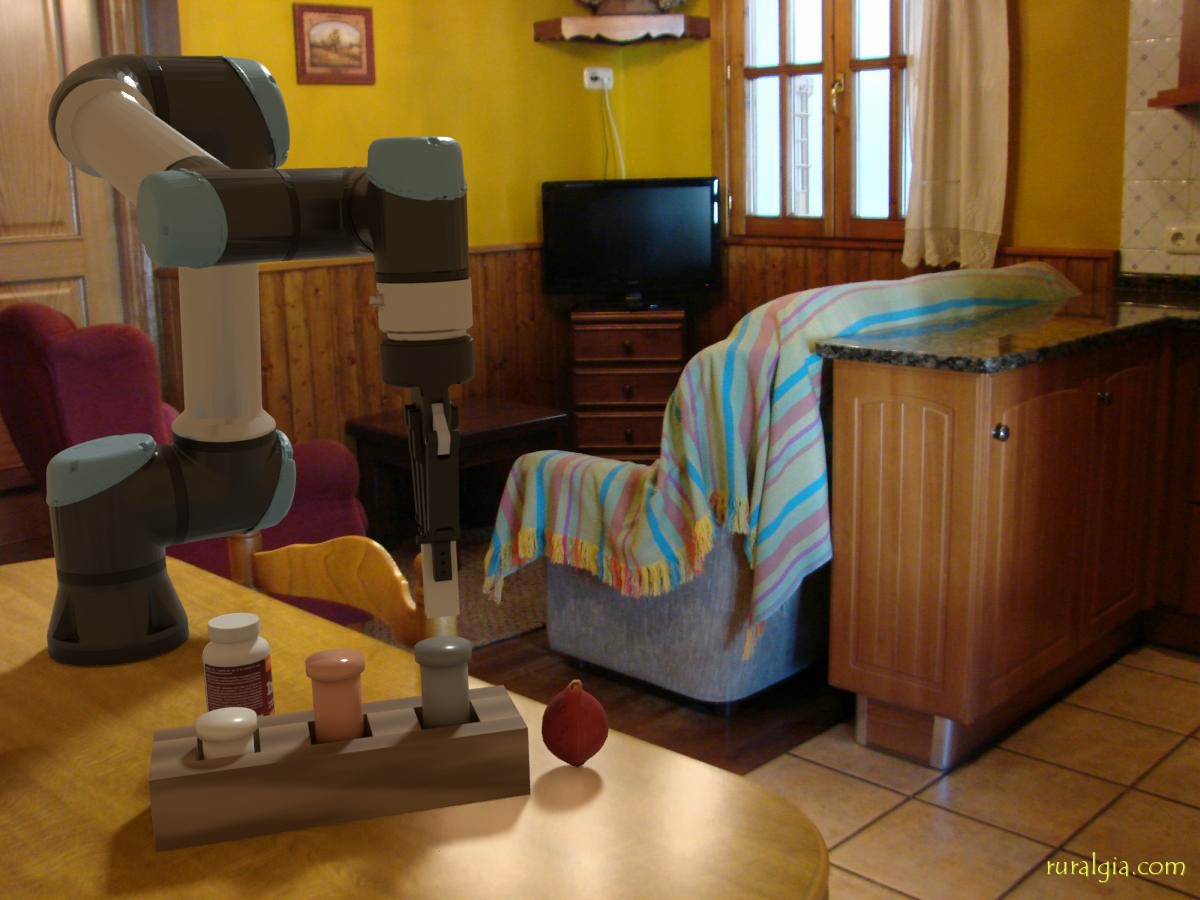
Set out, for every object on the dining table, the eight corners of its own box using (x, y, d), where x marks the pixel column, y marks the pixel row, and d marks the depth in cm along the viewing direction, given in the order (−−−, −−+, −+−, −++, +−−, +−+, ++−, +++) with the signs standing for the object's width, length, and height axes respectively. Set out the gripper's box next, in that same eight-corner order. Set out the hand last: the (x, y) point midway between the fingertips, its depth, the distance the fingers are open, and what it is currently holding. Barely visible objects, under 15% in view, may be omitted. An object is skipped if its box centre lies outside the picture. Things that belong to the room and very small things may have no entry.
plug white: (204, 801, 111) (195, 711, 109) (263, 792, 112) (255, 704, 110) (203, 827, 106) (194, 734, 105) (265, 818, 108) (257, 725, 106)
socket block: (160, 796, 112) (154, 730, 111) (506, 746, 120) (503, 684, 119) (155, 852, 103) (148, 780, 102) (530, 794, 111) (528, 727, 110)
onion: (560, 786, 112) (557, 698, 110) (532, 761, 117) (528, 676, 115) (620, 771, 115) (618, 684, 113) (590, 747, 120) (587, 663, 118)
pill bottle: (286, 733, 125) (277, 622, 122) (221, 750, 121) (211, 636, 119) (263, 712, 130) (254, 605, 127) (200, 728, 126) (190, 618, 124)
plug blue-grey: (415, 727, 115) (410, 639, 113) (470, 719, 116) (465, 633, 114) (423, 749, 110) (418, 658, 109) (480, 741, 111) (476, 651, 110)
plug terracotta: (310, 741, 112) (303, 652, 111) (367, 733, 114) (361, 645, 112) (314, 764, 108) (307, 672, 106) (373, 756, 109) (367, 665, 107)
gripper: (370, 329, 111) (388, 597, 116) (389, 345, 99) (408, 644, 104) (458, 323, 113) (472, 587, 118) (487, 338, 101) (502, 632, 106)
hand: (442, 613), depth 111 cm, fingers closed
